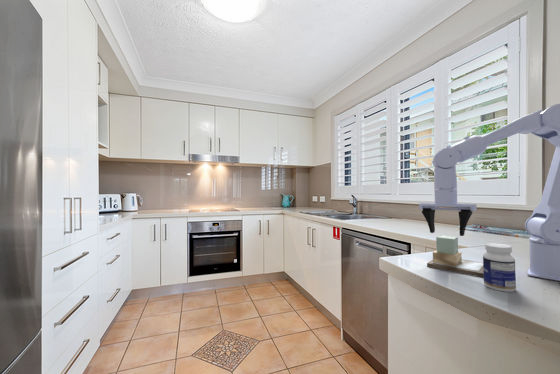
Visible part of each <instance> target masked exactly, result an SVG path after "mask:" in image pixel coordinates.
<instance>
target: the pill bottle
mask: <svg viewBox="0 0 560 374" xmlns="http://www.w3.org/2000/svg"><path fill="white" fill-rule="evenodd" d="M484 248H485V251H486V252H484V254H483V255H482V263H483V272H484V277H483V284H484V286H486V287H487V288H490V289H492V290H495V291H498V292H499V291H500V292H506V293H508V292H515V291H516V290H517V276H516V259H515V257H514V256H513V255H512V254H511V253H512V252H513V249H512V245H509V244H504V243H498V242H497V243H495V242H490V243H489V242H487V243H485V244H484Z"/></svg>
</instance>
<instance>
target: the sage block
mask: <svg viewBox="0 0 560 374" xmlns="http://www.w3.org/2000/svg"><path fill="white" fill-rule="evenodd" d="M435 240H436V250H437V252H440V253H446V254H453V255H455V254H456V253H457V252H459V237H458V236H449V235H442V234H441V235H439V236H436V239H435Z"/></svg>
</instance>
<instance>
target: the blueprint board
mask: <svg viewBox="0 0 560 374" xmlns="http://www.w3.org/2000/svg"><path fill="white" fill-rule="evenodd" d="M426 266H427V268H428V267H429V268H433V269H438V270H443V271H444V270H445V271H448V272H449V271H450V272H455V273H459V274H463V275H464V274H465V275H469V274H470V276H474V275H476V276H475V277H479V276H480V277H481V278H484V272H483V262H481V261H474V260H467V259H462V252H461V251H458V252H457V253H456V254H455V255H453V254H446V253H440V252H437V249H435V250H434V251H432V260H430V261H428V262H427V263H426Z"/></svg>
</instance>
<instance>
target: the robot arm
mask: <svg viewBox="0 0 560 374" xmlns="http://www.w3.org/2000/svg"><path fill="white" fill-rule="evenodd" d="M518 134H522V135H528V134H532V135H534V136H536V137H538V138H542V139H544V140H546V141H548V142H549V143H550V144H551V145H553V146H554V147H555V150H554V152H553V157H552V160H551V164H550V167H549V171H548V174H547V177H546V181H545V184H544V188H543V191H542V195H541V198H540V201H539V204H538V205H537V206H536V207H535V208H534V209H533V211H532V214H531V216H530V217H529V218H528V219H526V220H525V223H524V229H525V231H526V232H527V233H528V234H529V235H530V236H529V238H528V245H529V246H528V250H529V253H528V254H529V267H528V269H527V272H526V273H527V274H526V275H527V276H529V277H533V278H535V277H536V278H540V279H545V280H546V279H547V280H551V281H556V282H557V281H558V282H560V103H556V104H553V105H551V106H549V107H547V108H546V109H545V110H544V109H540V110H537V111H534V112H532V113H529V114H526V115H524V116H521V117H519V118H517V119H515V120H513V121H511V122H508V123H507V124H505V125H503V126H501V127H499V128H496V129H495V130H492V131H490V132H489V133H486V134H484V135H482V136H479V135H472V136H469V135H467V136H465V137H463V140H462V141H459V142H457V143H455V144H453V145H450V144H449V145H448V146H446V147H444V148H442V149H441V150H439V151H438V152H436V154H435V155H433V158H432V159H433V160H432V161H431V162H432V165H433V167H434V168H433V169H434V174H433V182H434V185H433V186H434V202H420V203H418V210H421V214H422V215H423V216H424V218H425V220H426V223H427V225H428V226H427V227H428V228H429V233H430V234H434V233H435V232H436V228H435V215H436V211H437V210H439V211H441V210H442V211H458V218H459V236H461V237H463V236H465V233H466V232H465V231H466V227H467V225H468V222H469V220H470V219H471V217H472V215H473V212H477V204H475V203H458V182H457V169H456V165H457V164H458V163H459V164H460V163H461V164H462V163H463V162H466V161H468V160H470V159H472V158H475V157H477V156H480V155H482V154H484V153H485V152H486V150H487V148H488V146H490V145H492V144H495V143H498V142H500V141H502V140H505V139H507V138H510V137H512V136H514V135H518ZM450 207H451V208H450Z"/></svg>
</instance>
